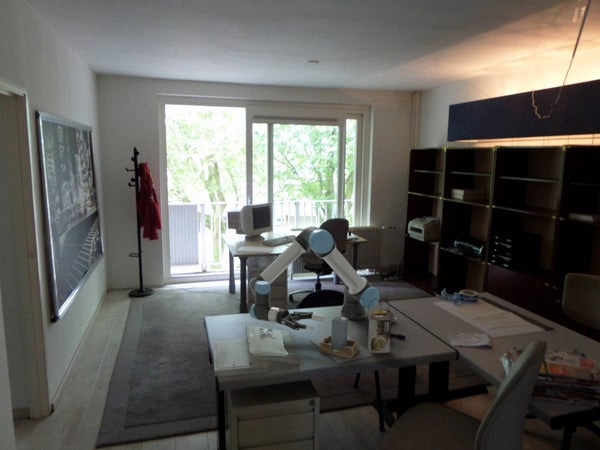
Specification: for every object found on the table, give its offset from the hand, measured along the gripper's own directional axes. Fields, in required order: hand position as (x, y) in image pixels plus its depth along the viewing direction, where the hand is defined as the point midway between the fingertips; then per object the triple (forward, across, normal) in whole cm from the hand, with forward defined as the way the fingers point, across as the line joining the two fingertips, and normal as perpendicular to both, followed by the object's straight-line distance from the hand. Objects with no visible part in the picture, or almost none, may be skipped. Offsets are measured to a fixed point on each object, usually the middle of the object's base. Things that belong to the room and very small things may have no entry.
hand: (318, 323), depth 199 cm
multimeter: (+25, -24, -12) cm, 36 cm away
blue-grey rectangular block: (+11, 0, -10) cm, 15 cm away
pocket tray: (+11, 0, -11) cm, 16 cm away
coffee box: (+27, -10, -12) cm, 31 cm away
